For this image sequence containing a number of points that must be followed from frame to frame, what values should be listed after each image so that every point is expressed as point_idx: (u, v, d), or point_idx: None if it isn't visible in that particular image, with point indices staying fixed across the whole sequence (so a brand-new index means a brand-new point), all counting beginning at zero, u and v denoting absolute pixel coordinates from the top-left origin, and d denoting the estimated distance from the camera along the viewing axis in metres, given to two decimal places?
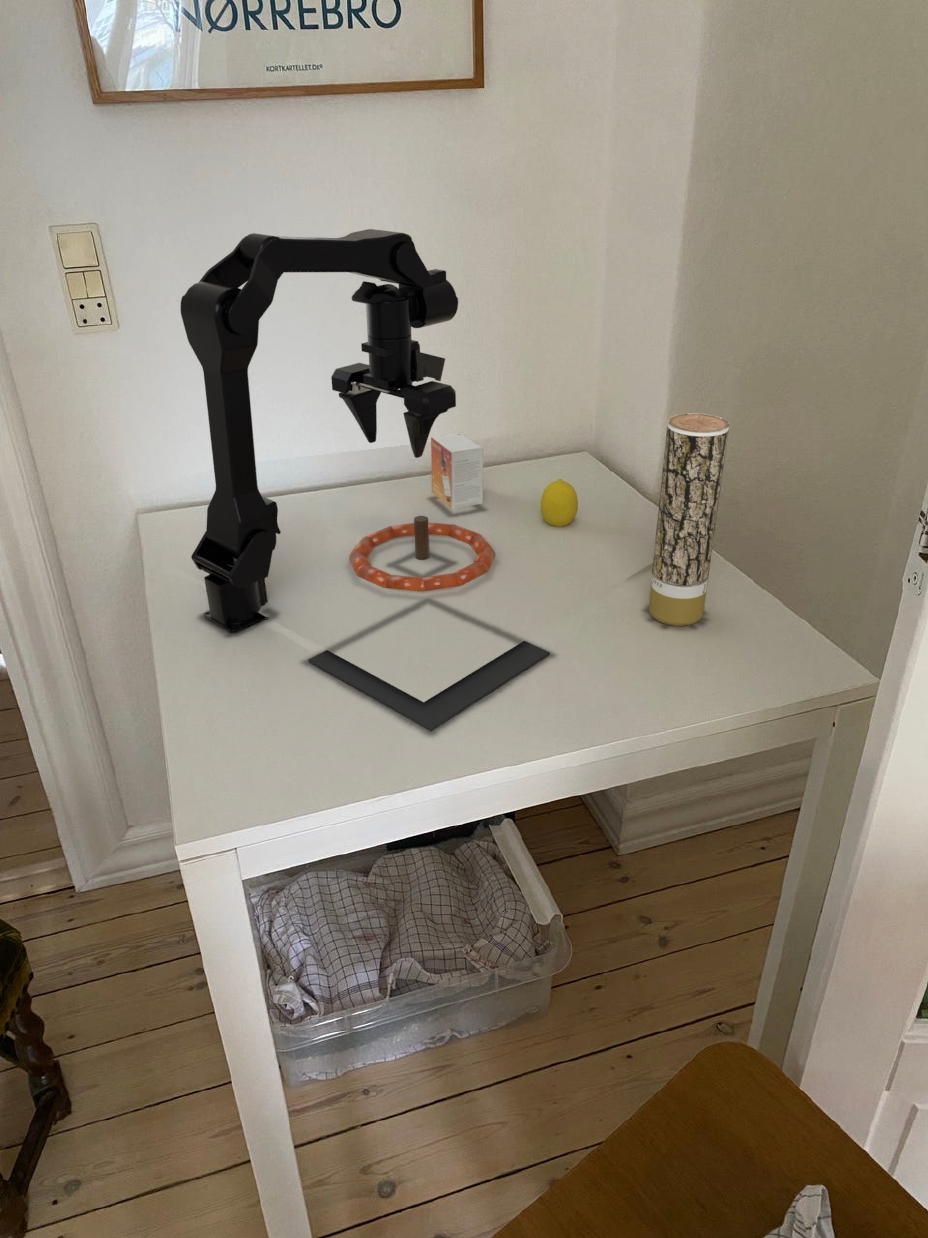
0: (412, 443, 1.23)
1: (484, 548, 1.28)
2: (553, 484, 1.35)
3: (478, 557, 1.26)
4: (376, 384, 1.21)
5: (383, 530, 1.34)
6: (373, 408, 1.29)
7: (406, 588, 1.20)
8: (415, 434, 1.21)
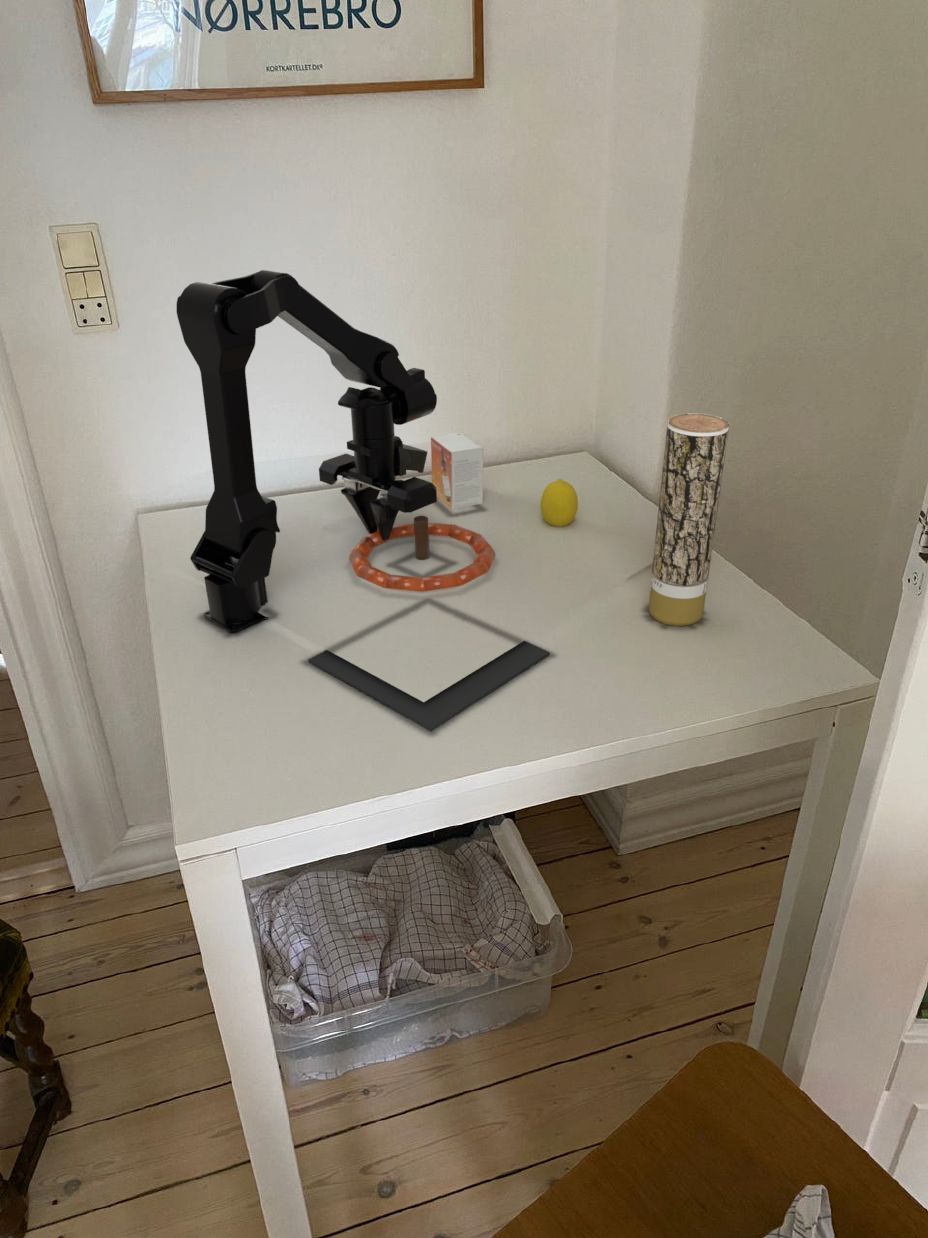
0: (379, 528, 1.31)
1: (484, 548, 1.28)
2: (553, 484, 1.35)
3: (478, 557, 1.26)
4: (361, 480, 1.27)
5: None
6: None
7: (406, 588, 1.20)
8: (381, 521, 1.29)
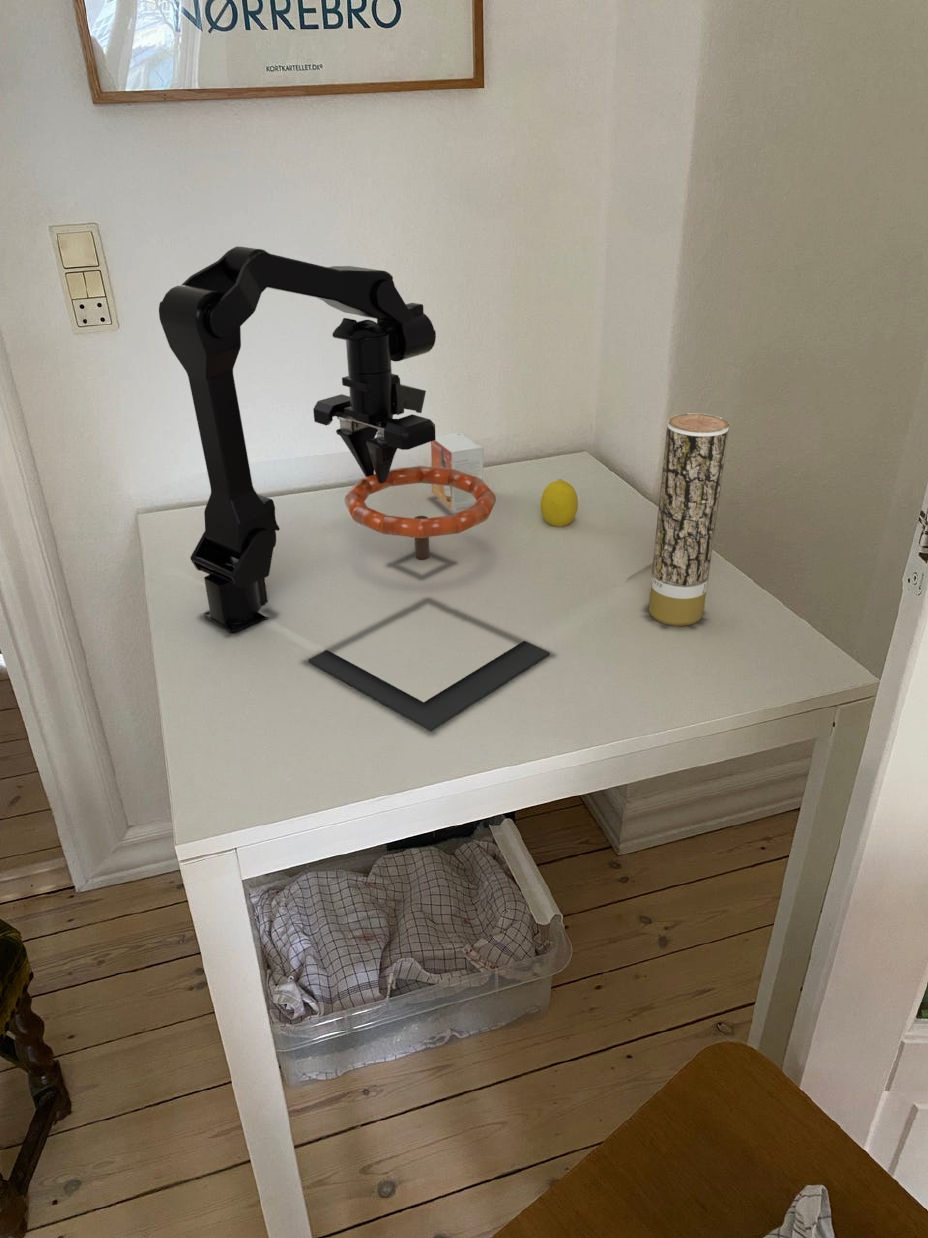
0: (376, 469, 1.26)
1: (485, 492, 1.24)
2: (553, 484, 1.35)
3: (478, 500, 1.22)
4: (357, 417, 1.22)
5: None
6: None
7: (404, 529, 1.16)
8: (378, 461, 1.24)
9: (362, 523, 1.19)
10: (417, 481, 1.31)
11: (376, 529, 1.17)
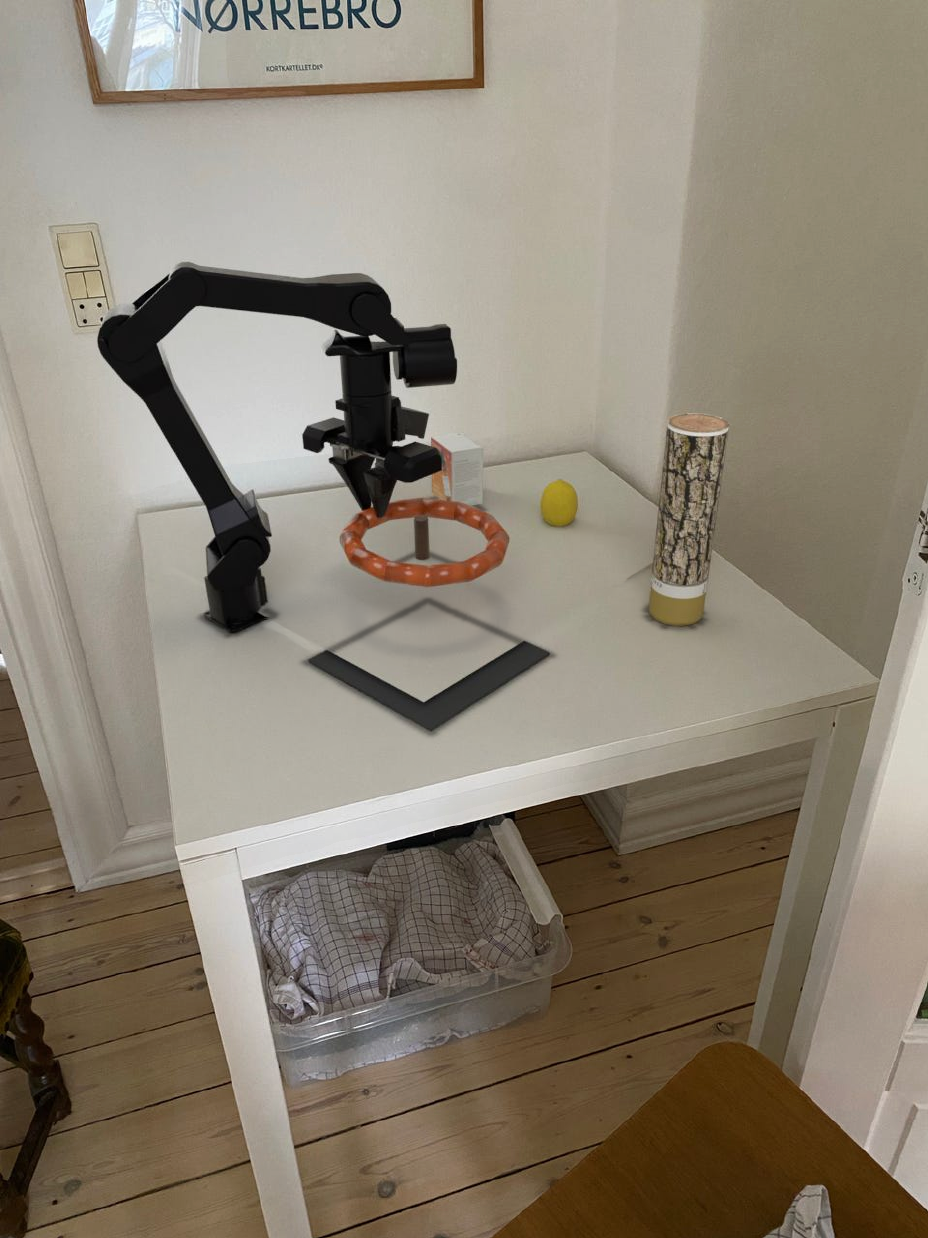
0: (374, 503, 1.12)
1: (497, 532, 1.10)
2: (553, 484, 1.35)
3: (491, 543, 1.08)
4: (352, 445, 1.08)
5: None
6: None
7: (409, 578, 1.02)
8: (377, 494, 1.10)
9: (360, 568, 1.05)
10: (419, 515, 1.17)
11: (377, 576, 1.03)
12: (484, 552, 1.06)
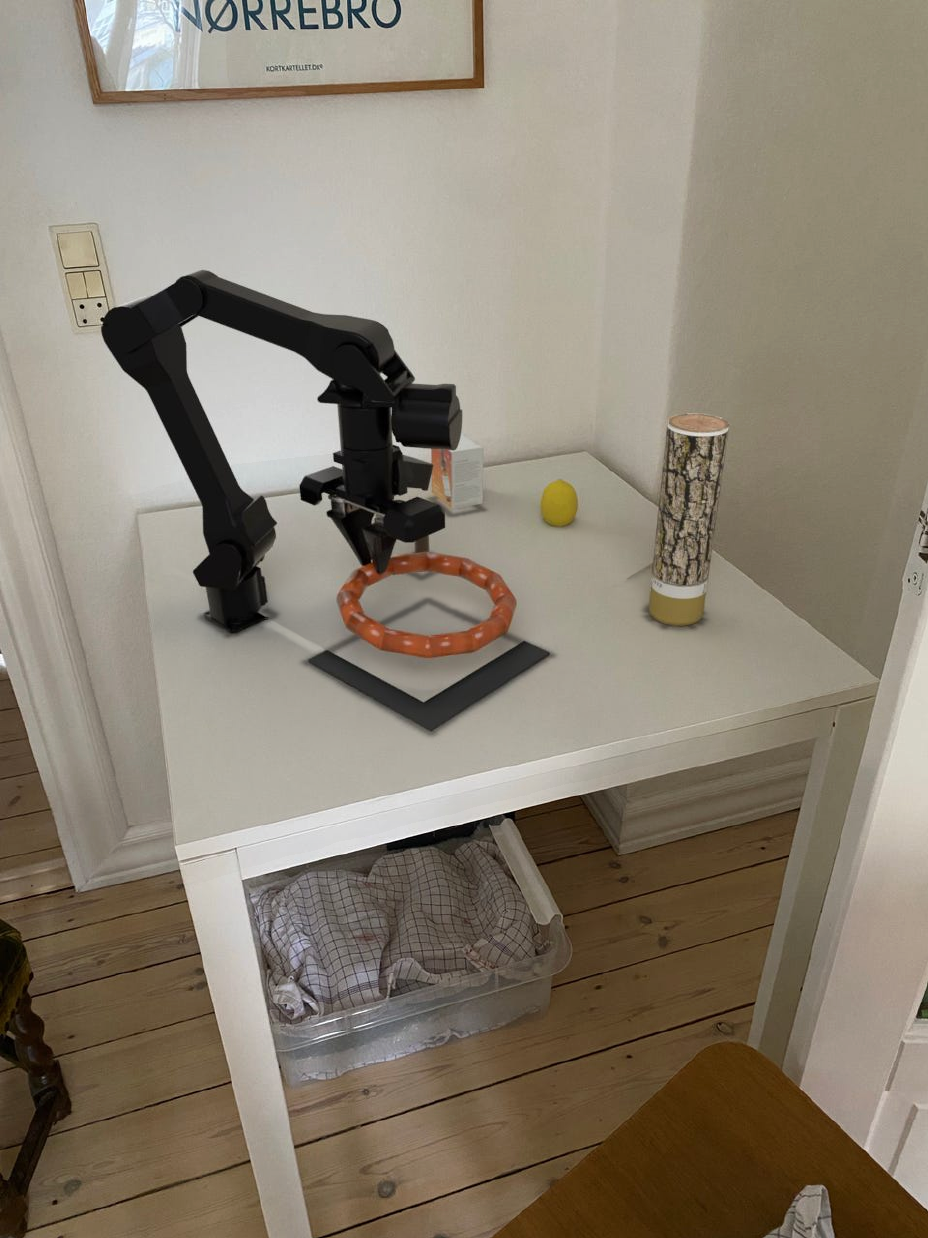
0: (373, 559, 1.06)
1: (504, 596, 1.04)
2: (553, 484, 1.35)
3: (497, 609, 1.02)
4: (351, 500, 1.02)
5: None
6: None
7: (407, 649, 0.96)
8: (376, 550, 1.04)
9: (357, 634, 0.99)
10: (422, 570, 1.11)
11: (374, 645, 0.97)
12: (489, 620, 0.99)
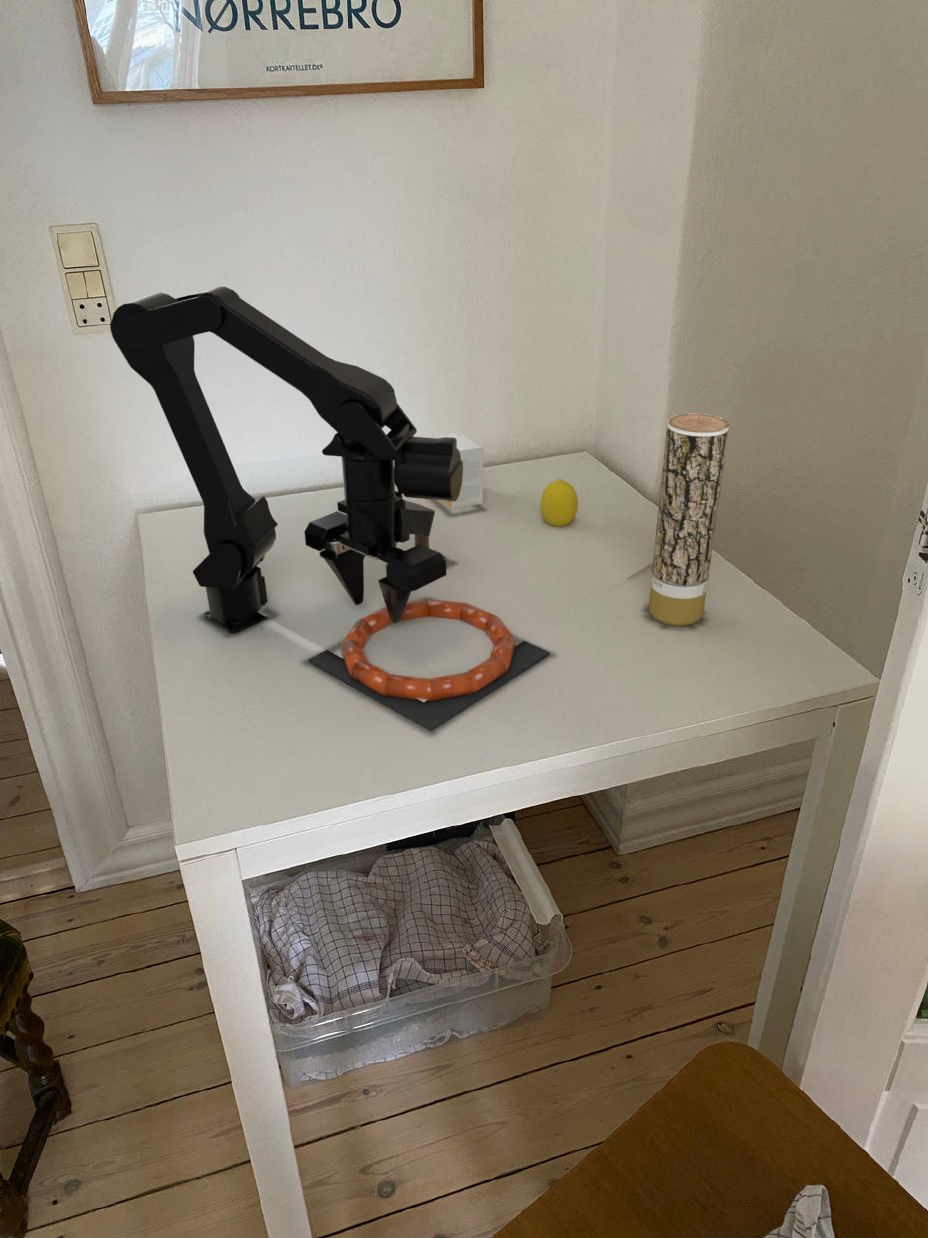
0: (389, 609, 1.07)
1: (503, 637, 1.07)
2: (553, 484, 1.35)
3: (496, 650, 1.04)
4: (355, 548, 1.05)
5: (382, 611, 1.12)
6: (360, 567, 1.12)
7: (409, 693, 0.99)
8: (392, 602, 1.06)
9: (361, 682, 1.02)
10: None
11: (377, 691, 1.00)
12: (488, 661, 1.02)
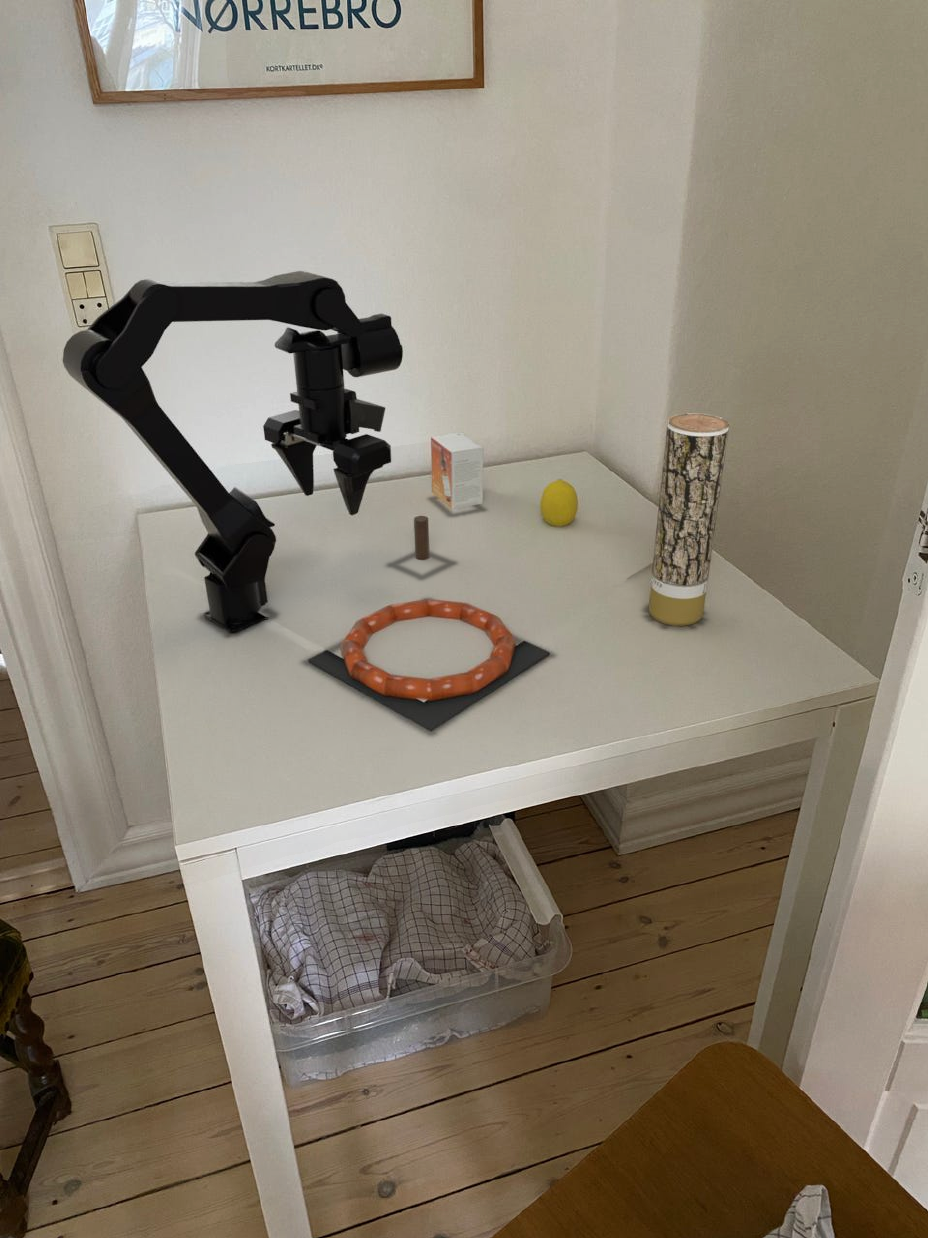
0: (345, 500, 1.13)
1: (503, 637, 1.07)
2: (553, 484, 1.35)
3: (496, 650, 1.04)
4: (306, 437, 1.12)
5: (382, 611, 1.12)
6: (309, 459, 1.20)
7: (409, 693, 0.99)
8: (347, 491, 1.12)
9: (361, 682, 1.02)
10: None
11: (377, 691, 1.00)
12: (488, 661, 1.02)
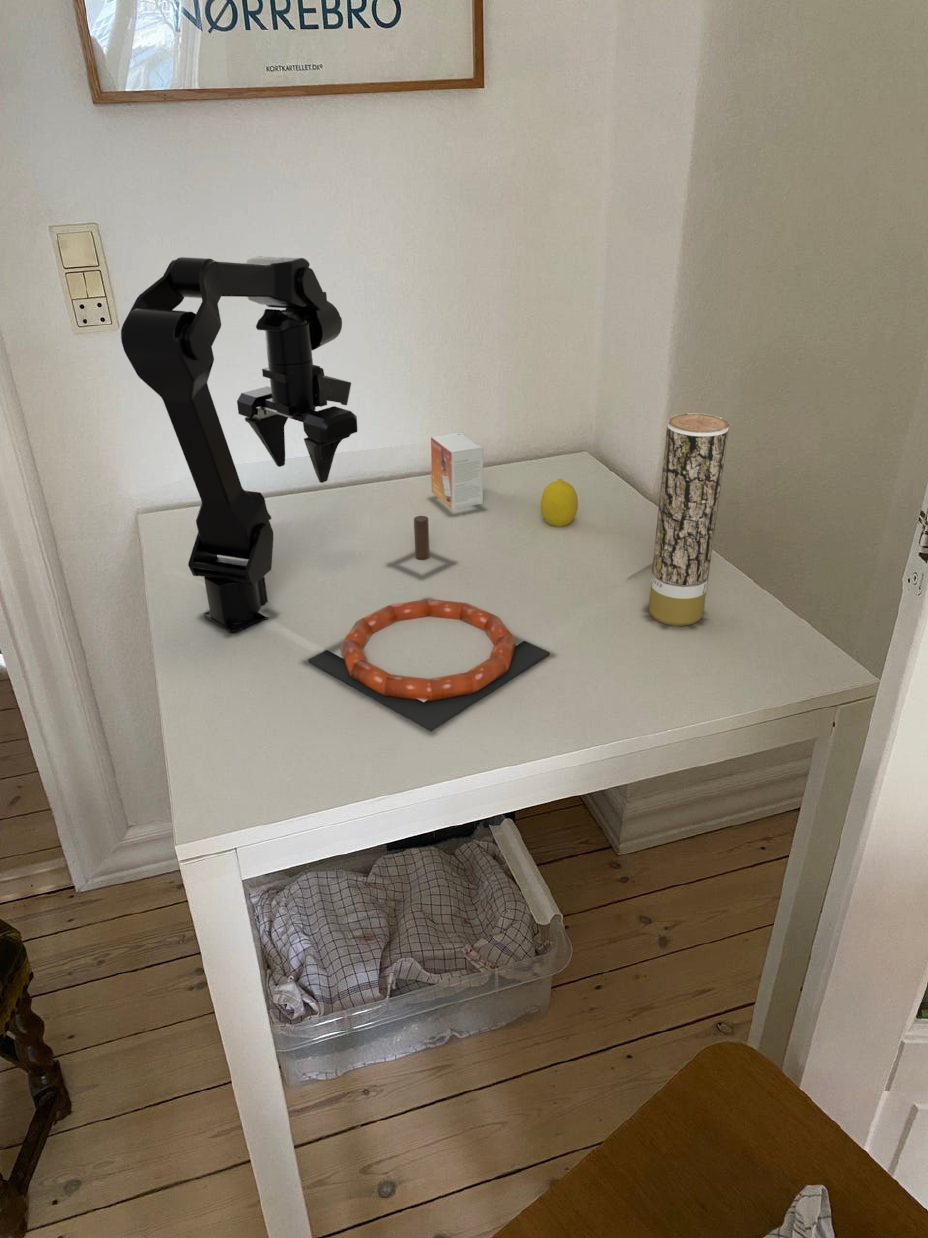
0: (315, 468, 1.22)
1: (503, 637, 1.07)
2: (553, 484, 1.35)
3: (496, 650, 1.04)
4: (278, 409, 1.20)
5: (382, 611, 1.12)
6: (281, 432, 1.28)
7: (409, 693, 0.99)
8: (317, 459, 1.20)
9: (361, 682, 1.02)
10: None
11: (377, 691, 1.00)
12: (488, 661, 1.02)
